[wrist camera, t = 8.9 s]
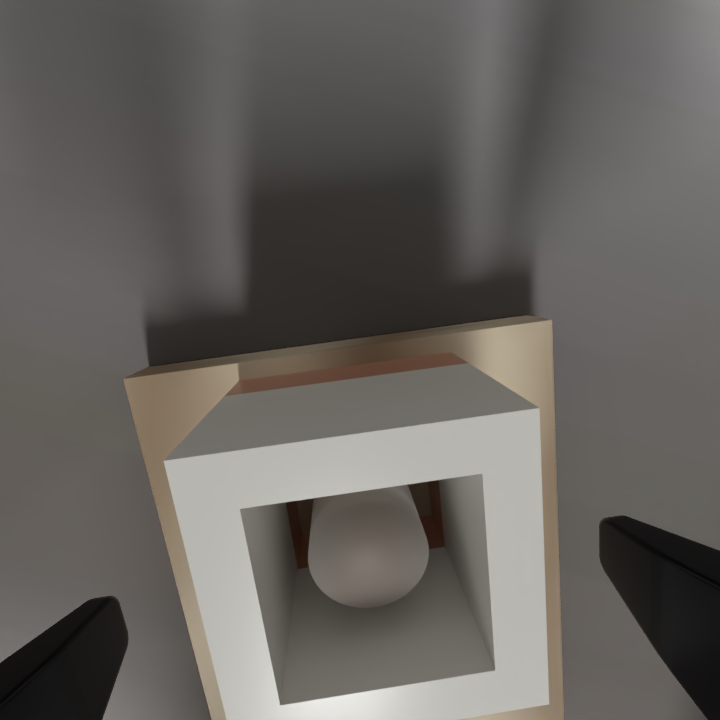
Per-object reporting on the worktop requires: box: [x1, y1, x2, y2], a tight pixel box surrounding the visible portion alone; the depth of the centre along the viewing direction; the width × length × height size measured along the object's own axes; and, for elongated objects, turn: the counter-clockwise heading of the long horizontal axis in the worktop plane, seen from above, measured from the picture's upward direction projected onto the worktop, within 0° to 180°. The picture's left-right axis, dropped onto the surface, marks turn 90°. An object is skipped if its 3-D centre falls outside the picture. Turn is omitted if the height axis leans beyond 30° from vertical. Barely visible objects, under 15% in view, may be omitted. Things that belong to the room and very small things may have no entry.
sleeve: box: [164, 352, 549, 720], centre depth 9 cm, size 6×6×5 cm
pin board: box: [123, 315, 564, 720], centre depth 12 cm, size 12×16×6 cm
